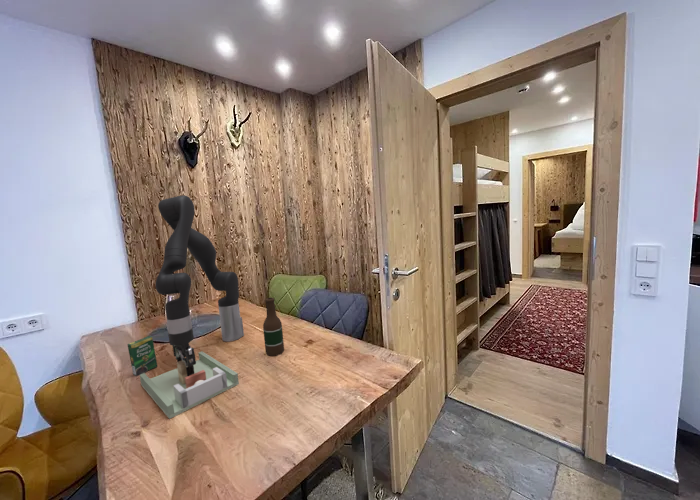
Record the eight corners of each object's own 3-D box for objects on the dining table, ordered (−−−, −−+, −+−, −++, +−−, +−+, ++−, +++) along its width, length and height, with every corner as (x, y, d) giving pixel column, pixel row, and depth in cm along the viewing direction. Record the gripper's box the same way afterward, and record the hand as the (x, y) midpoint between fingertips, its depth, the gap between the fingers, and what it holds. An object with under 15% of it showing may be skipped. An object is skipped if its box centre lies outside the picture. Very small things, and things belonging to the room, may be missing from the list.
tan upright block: (193, 374, 109) (191, 356, 108) (206, 384, 101) (204, 365, 100) (176, 381, 104) (173, 363, 104) (188, 393, 97) (185, 373, 96)
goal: (218, 380, 104) (216, 367, 104) (227, 386, 100) (225, 373, 99) (175, 400, 94) (173, 385, 93) (183, 408, 89) (181, 393, 89)
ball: (209, 390, 98) (204, 387, 100) (207, 379, 97) (202, 376, 100) (197, 396, 95) (192, 393, 97) (195, 384, 94) (190, 382, 97)
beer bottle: (261, 354, 124) (256, 300, 121) (274, 347, 131) (269, 295, 128) (275, 357, 121) (270, 301, 118) (288, 349, 127) (283, 296, 125)
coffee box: (135, 377, 112) (130, 344, 111) (132, 375, 114) (126, 343, 112) (157, 367, 119) (153, 336, 118) (154, 365, 121) (149, 335, 119)
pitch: (203, 360, 123) (202, 351, 122) (238, 384, 103) (237, 373, 102) (141, 385, 106) (139, 374, 106) (169, 419, 86) (167, 406, 86)
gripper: (199, 329, 101) (205, 373, 103) (184, 321, 111) (189, 362, 113) (175, 337, 96) (182, 383, 98) (161, 328, 105) (167, 370, 107)
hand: (186, 371), depth 105 cm, fingers open, 8 cm apart
